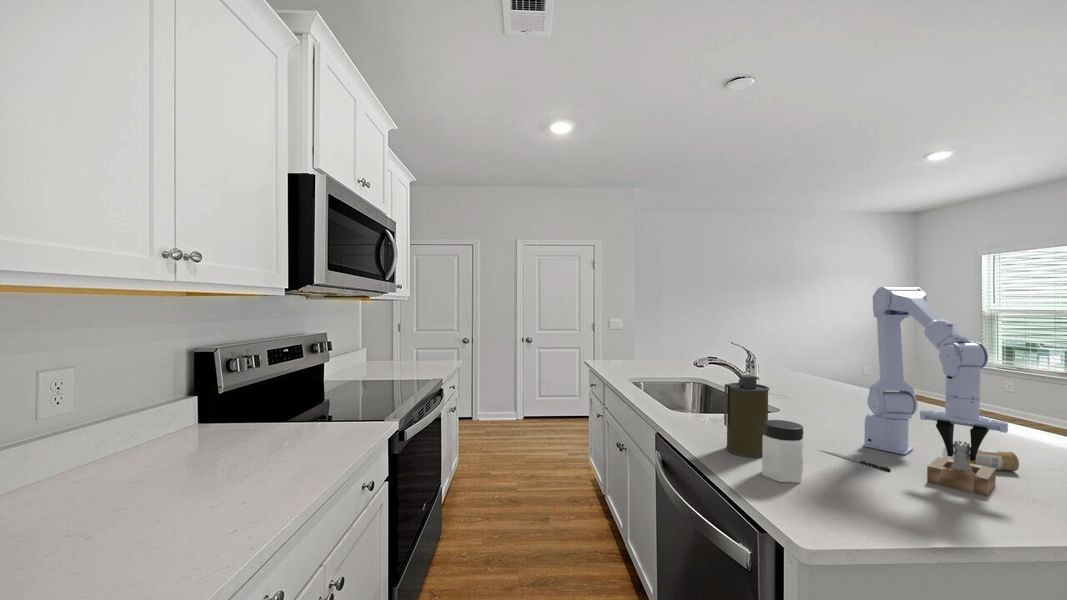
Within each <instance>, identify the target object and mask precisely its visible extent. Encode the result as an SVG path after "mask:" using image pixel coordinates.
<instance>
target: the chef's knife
mask: <svg viewBox="0 0 1067 600" xmlns="http://www.w3.org/2000/svg"><path fill="white" fill-rule="evenodd" d="M818 451H819V452H822V453H825V454H829V455H832V456H836V457H838V458H842V459H844V460H848V461H850V462H851V461H852V462H854V461H855V462H854V463H857V462H858V464H861V463H862V464H861V465H864V464H865V466H867V465H869V466H868V467H871V466H872V467H871V468H874V467H875V468H874V469H877V468H879V469H878V470H881V469H882V470H881V471H884V470H885V471H884V472H888V473H890V472H891V471H892V469H891V468H889V467H888V466H884V465H883V466H881V465H877V464H874V463H871V462H868V461H866V460H863V459H860V458H856V457H852V456H850V455H845V454H842V453H837V452H833V451H828V450H821V449H820V450H819V449H818Z"/></svg>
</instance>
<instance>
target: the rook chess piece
mask: <svg viewBox="0 0 1067 600" xmlns="http://www.w3.org/2000/svg"><path fill="white" fill-rule="evenodd" d="M952 446H953V447H954V449H955V451H954V452H953V453H954V454H955V457H954V462H953V465H951V466H952V467H950V468H951V469H956V470H960V471H965V472H970V473H974V472H973V471H972V469H971V467H970V463H969V456H970V454H969V451H970V450H971V443H969V442H967V441H964V442H962V441H960V440H958V441H957V440H955V441H953V445H952Z"/></svg>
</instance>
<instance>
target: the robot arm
mask: <svg viewBox="0 0 1067 600" xmlns="http://www.w3.org/2000/svg"><path fill="white" fill-rule="evenodd" d="M872 312H873V317H875V318H876V324H877V325H876V326H877V327H876V328H877V330H876V331H877V344H878V345H877V346H878V363H879V368H878V369H879V379H878V380H877V381H876V382H874V383H873V384H871V385H870V386H869V388H868V389H869V393H868V396H867V407H868V409H869V410H870V412H868V413H866V415H865V418H864V444H863V447H865V448H866V447H867V448H870V449H875V450H880V451H885V452H890V453H895V454H898V455H904V456H905V455H906V456H907V454H909V453H910V452H911V451H913V450H914V447H913V446H909V419H912V416H914V415H915V414H916V412H917V410H918V406H919V405H918V400H917V397H916V395H915V389H914V387H913V386H912V385H910V384H909V383H908V382H906V381H905V380H904V366H903V365H904V363H903V347H902V346H903V345H902V343H903V342H902V329H901V323H902V322H903V321H904V320H905V319H906V318H909V317H912V318H913V319H915V320H916V321H917V322H918V323H919V324H920V325H921V326H923V328H924V331H923V333H924V336H925V338H927V339H928V340H929V342H930V343H931V344H932V345H933V346H934V347H935V348H936V350H937V351H938V352H939V353H938V358H939V362H940V363H941V365H942V373H943V374H944V375H945V401H944V402H945V403H944V404H945V405H944V406H945V409H944V411H935V410H927V409H922V410H920V411H919V419H920V420H924V421H926V420H927V421H933V422H936V424H935V427H936V429H937V431H938V433H939V435H940V437H941V438H942V441H943V444H944V446H945V447H946V450H947V456H950V457H952V456H953V452H954V448H953V446H952V445H953V444H954V431H955V430H954V429H955V425H959V426H965V427H970V429H969V435H970V447H971V450H970V461H975V460H976V455H977V452H978V450H980V449H979V448H980V446H981V444H982V442H983V440H984V439H985V438H986V436H987V434H988V432H989V431H990V430H991V431H996V432H999V433H1005V434H1007V433H1008V431H1009V422H1008V421H1001V420H995V419H991V418H985V417H982V416H980V415H981V413H980V406H981V404H980V402H981V401H980V399H981V369H983V368H985V367H986V366H987V364H988V361H989V353H988V350H987V349H986V347H985V346H984V345H983V343H982V342H979V341H976V342H975V341H973V340H972V339H971V340H970V339H968V338H967V337H966V336H965V335H964V334H963V333H962V332H961V331H960V330H959V329H958V328H957V327H956V326H955V325H954V323H953V322H952V321H951V320H950V321H949V320H945V319H940V317H939V316H938V315H937V314H936V313H935V311H934V310H933V308H932V307H931V306H930V305H929V303H928V302H927V293H926V292H924V290H923V289H922V287H921V288H920V287H919V286H912V287H911V286H910V287H908V286H905V287H903V286H900V287H899V286H897V287H896V286H895V287H893V286H889V287H888V286H879V287H878V288H877V289H876V291H875V292H874V293H873V295H872Z"/></svg>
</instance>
